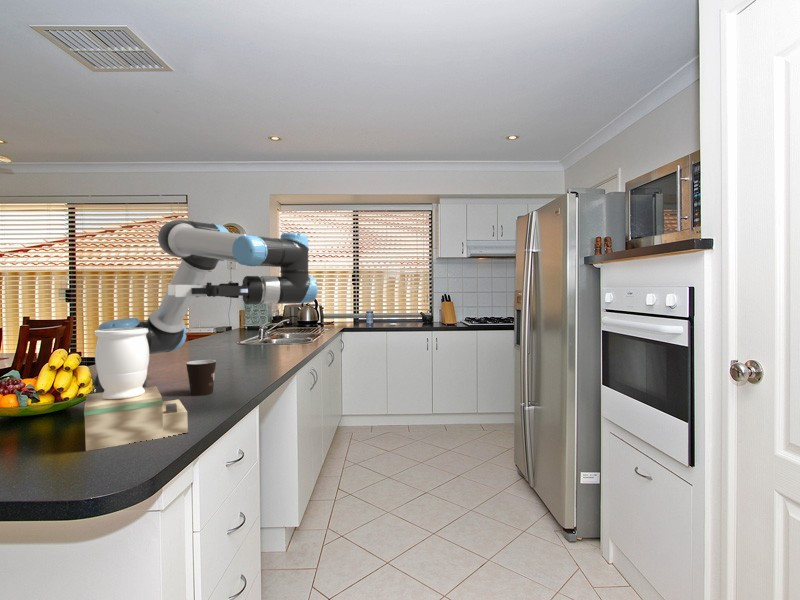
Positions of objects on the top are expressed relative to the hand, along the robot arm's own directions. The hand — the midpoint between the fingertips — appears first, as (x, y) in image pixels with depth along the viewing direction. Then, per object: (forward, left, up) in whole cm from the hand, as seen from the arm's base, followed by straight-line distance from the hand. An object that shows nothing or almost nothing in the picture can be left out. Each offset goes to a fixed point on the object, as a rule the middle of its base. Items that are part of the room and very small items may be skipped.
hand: (171, 290), depth 108 cm
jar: (+7, -8, -24) cm, 26 cm away
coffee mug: (-35, -5, -33) cm, 48 cm away
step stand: (+6, -6, -33) cm, 34 cm away
